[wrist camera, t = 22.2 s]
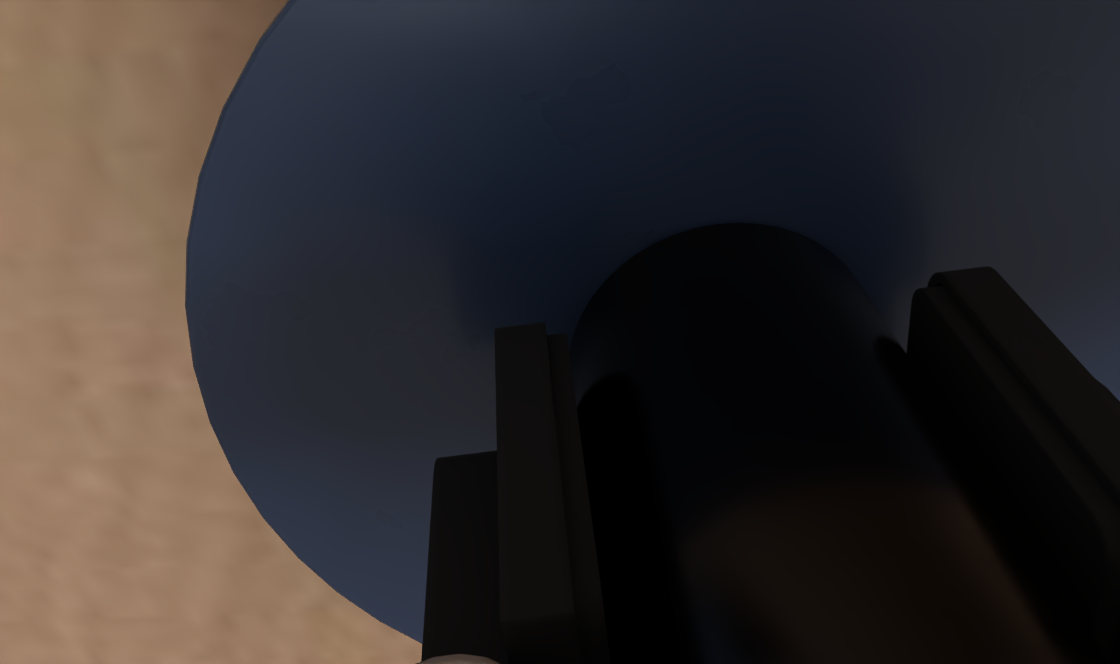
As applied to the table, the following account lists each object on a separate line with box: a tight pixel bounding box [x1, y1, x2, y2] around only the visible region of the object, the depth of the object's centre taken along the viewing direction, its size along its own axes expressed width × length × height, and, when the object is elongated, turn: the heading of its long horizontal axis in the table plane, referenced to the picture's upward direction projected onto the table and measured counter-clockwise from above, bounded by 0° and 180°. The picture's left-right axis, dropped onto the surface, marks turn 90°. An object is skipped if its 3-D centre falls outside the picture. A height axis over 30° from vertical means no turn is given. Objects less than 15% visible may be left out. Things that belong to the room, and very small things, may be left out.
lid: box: [185, 0, 1120, 664], centre depth 10 cm, size 12×12×7 cm
